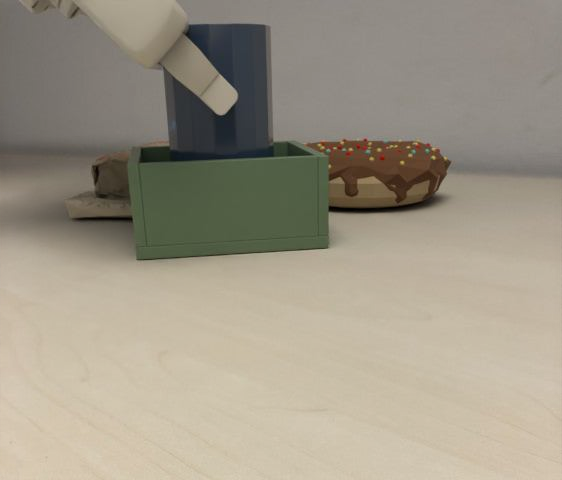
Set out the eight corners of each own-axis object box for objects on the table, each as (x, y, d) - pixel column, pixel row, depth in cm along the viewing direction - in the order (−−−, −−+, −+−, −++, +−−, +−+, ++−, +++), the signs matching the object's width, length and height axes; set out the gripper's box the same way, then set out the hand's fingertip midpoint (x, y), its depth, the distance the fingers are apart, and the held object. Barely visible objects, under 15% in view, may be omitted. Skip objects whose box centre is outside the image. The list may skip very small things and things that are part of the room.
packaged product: (134, 138, 71) (230, 137, 70) (138, 187, 73) (232, 187, 72) (56, 158, 55) (180, 157, 53) (65, 220, 57) (184, 221, 55)
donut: (283, 216, 56) (282, 151, 54) (291, 189, 69) (290, 135, 67) (463, 214, 56) (468, 147, 54) (438, 187, 68) (442, 132, 66)
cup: (174, 197, 45) (160, 24, 41) (171, 182, 52) (159, 31, 48) (281, 192, 46) (277, 22, 42) (265, 178, 53) (261, 29, 49)
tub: (136, 259, 44) (126, 164, 42) (139, 224, 55) (131, 147, 52) (328, 247, 46) (328, 155, 44) (296, 216, 56) (295, 140, 54)
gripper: (57, -165, 32) (276, 65, 37) (108, -77, 51) (248, 68, 55) (-25, -51, 33) (197, 156, 38) (54, -6, 52) (196, 129, 57)
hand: (227, 104), depth 47 cm, fingers closed on cup, 7 cm apart
